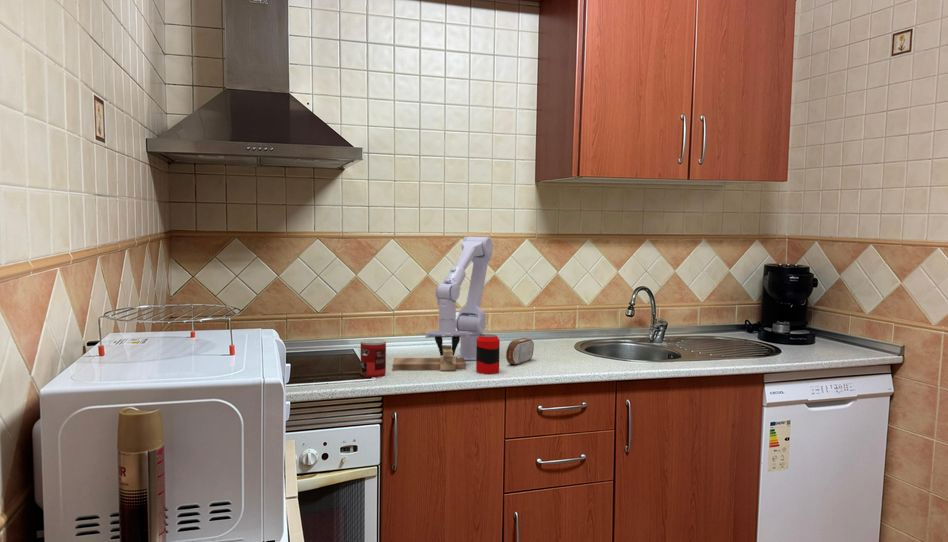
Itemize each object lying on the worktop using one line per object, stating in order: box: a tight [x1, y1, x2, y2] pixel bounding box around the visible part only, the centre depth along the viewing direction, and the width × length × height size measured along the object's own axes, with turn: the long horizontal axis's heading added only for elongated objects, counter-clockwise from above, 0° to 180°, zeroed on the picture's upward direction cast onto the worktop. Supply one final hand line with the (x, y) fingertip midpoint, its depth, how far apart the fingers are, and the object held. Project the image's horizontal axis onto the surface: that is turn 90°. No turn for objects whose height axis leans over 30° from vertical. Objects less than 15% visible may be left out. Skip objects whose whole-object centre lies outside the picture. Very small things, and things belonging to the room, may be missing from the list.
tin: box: [505, 337, 535, 366], centre depth 225 cm, size 15×3×8 cm, turn 145°
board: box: [392, 357, 467, 371], centre depth 217 cm, size 24×10×2 cm, turn 95°
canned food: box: [360, 338, 387, 378], centre depth 205 cm, size 8×8×11 cm
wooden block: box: [439, 344, 457, 371], centre depth 217 cm, size 5×12×6 cm, turn 5°
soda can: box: [475, 333, 501, 375], centre depth 211 cm, size 8×8×12 cm
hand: (447, 358), depth 218 cm, fingers open, 3 cm apart
